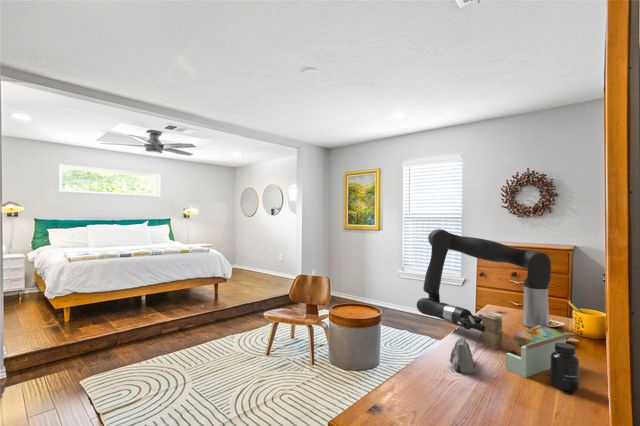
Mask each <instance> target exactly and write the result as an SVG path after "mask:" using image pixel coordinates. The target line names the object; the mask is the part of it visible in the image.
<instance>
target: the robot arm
mask: <svg viewBox="0 0 640 426" xmlns="http://www.w3.org/2000/svg"><path fill="white" fill-rule="evenodd" d="M427 239H428V243H429V244H430V246H431V254H430V260H429V262H428V263H429V264H428V267H427V269H426V273H425V275H424V276H425V277H424V280H423V281H424V282H423V291H424V292H425V293H426V294H427V295H428V297H422V298H419V299H418V301H417V302H416V308H417V310H418V312H420V313H421V314H423V315H426V316H429V317H430V316H431V317H435V318H438V319H441V320H443V321H446V322H448V323H450V324H453V325H455V326H458V327H461V328H463V329H466V330H468V331H469V330H473V331H474V330H475V331H476V330H477V331H479V332H481V333H482V332H485V326H483V325H482V314H478V315H475V314H472V311H470V310H469V309H467V308H464V307H460V306H458V305H453V304H448V303H447V302H441V296H440V287H441V282H442V276H443V269H444V265H445V261H446V258H447V254H448V251H449V250H450V251H455V252H458V253H462V254H464V255H467V256H469V257H472V258H476V259H480V260H484V261H489V262H494V263H507V264H511V265H515V266H518V267H521V268H524V269H526V270H527V275H526V276H527V277H526V278H525V279H524V280H523V317H522V318H523V325H524V326H526V327H528V328H533V327H536V326H539V325H540V326H543V327H547V328H549V326H550V325H549V322H550V321H549V320H550V319H549V315H550V313H549V312H550V311H549V310H550V308H549V306H550V305H549V285H550V283H551V279H552V278H551V277H552V275H551V274H552V273H551V272H552V262H551V258H550V257H549V255H548V254H546V253H544V252H541V251H537V250H530V249H522V248H516V247H511V246H509V245H506V244H503V243H500V242H498V241H494V240H489V239H485V238H479V237H474V236H473V237H472V236H462V235H458V234H455V233H450V232H448V231H447V230H445V229H441V228H437V229H433V230H432V231H431V232H429V234H428V236H427ZM548 325H549V326H548Z"/></svg>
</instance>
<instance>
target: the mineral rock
mask: <svg viewBox="0 0 640 426" xmlns="http://www.w3.org/2000/svg"><path fill="white" fill-rule="evenodd" d="M450 352H451V353H450V355H449V356H450V358H449V362H450V364H451V366H452V368H453V370H454V371H455V372H459V373H462V374H466V375H467V374H473V373H474V372H475V371H476V370H475V366H474V364H475V362H474V359H473V354H472V351H471V349H470V345H469V343H468V342H467V340H466V338H465V336H464V335H463V336H461V337H460V338H458V339H457V340H456V342H455V344H454V346H453V348H452V349H451V351H450Z"/></svg>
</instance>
